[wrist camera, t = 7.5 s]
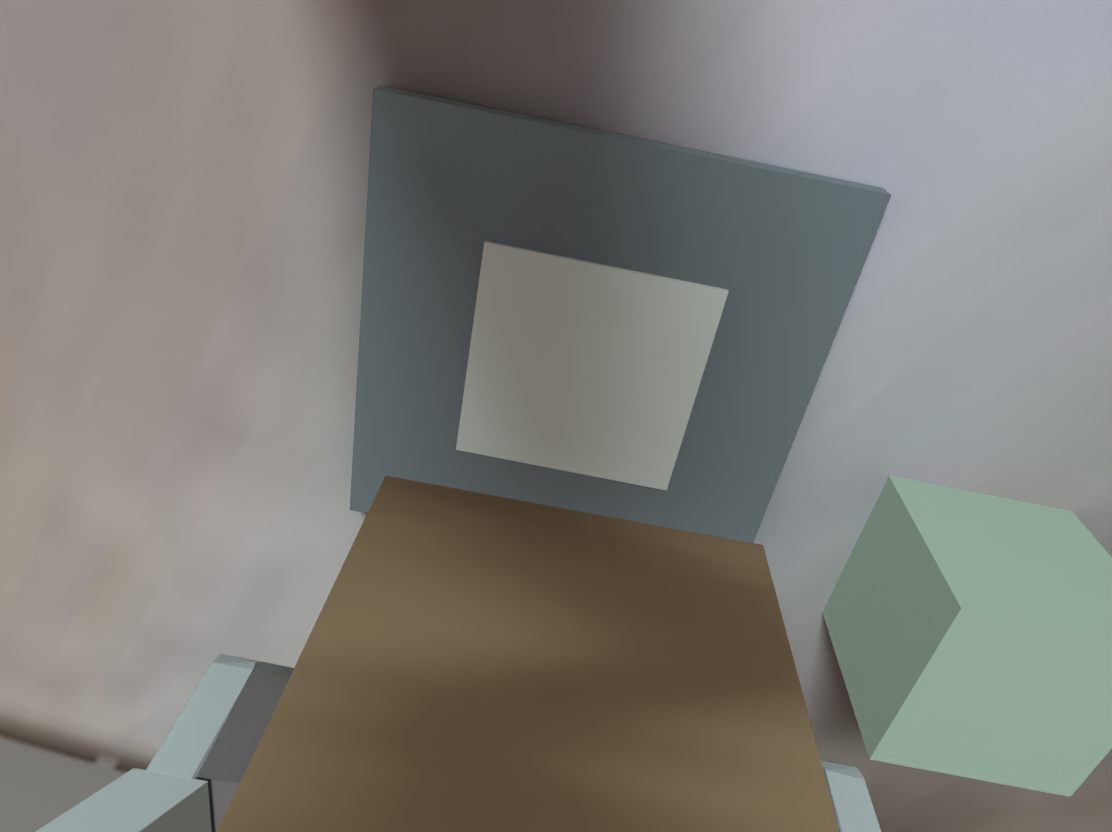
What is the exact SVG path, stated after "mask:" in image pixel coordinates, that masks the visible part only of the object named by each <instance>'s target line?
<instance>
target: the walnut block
mask: <svg viewBox="0 0 1112 832" xmlns="http://www.w3.org/2000/svg"><path fill="white" fill-rule="evenodd" d="M217 832H839V828H838V824H837V820H836V817H835V813H834V809H833V805H832V802H831V798H830V794H829V791H828V787H827V783H826V779H825V776H824V772H823V768H822V764H821V761H820V757H819V753H818V749H817V746H816V742H815V738H814V734H813V731H812V727H811V723H810V720H809V716H808V712H807V708H806V705H805V701H804V697H803V693H802V690H801V686H800V682H799V678H798V675H797V671H796V667H795V663H794V660H793V656H792V652H791V648H790V645H789V641H788V637H787V634H786V630H785V626H784V622H783V619H782V615H781V611H780V607H779V604H778V600H777V596H776V592H775V589H774V585H773V581H772V577H771V574H770V570H769V566H768V562H767V559H766V555H765V551H764V548H763V545H759V544H753V543H748V542H742V541H737V540H732V539H726V538H721V537H715V536H710V535H705V534H699V533H694V532H688V531H683V530H678V529H672V528H667V527H661V526H656V525H651V524H645V523H640V522H634V521H629V520H623V519H618V518H613V517H607V516H602V515H596V514H591V513H586V512H580V511H575V510H569V509H564V508H559V507H553V506H548V505H542V504H537V503H532V502H526V501H521V500H515V499H510V498H505V497H499V496H494V495H488V494H483V493H478V492H472V491H467V490H461V489H456V488H450V487H445V486H440V485H434V484H429V483H423V482H418V481H413V480H407V479H402V478H396V477H391V476H386V475H385V478H384V480H383V482H382V484H381V486H380V488H379V490H378V492H377V494H376V497H375V499H374V501H373V503H372V505H371V507H370V509H369V511H368V513H367V516H366V518H365V520H364V522H363V524H362V526H361V528H360V530H359V533H358V535H357V537H356V539H355V541H354V543H353V545H352V547H351V549H350V552H349V554H348V556H347V558H346V560H345V562H344V564H343V566H342V568H341V571H340V573H339V575H338V577H337V579H336V581H335V583H334V585H333V587H332V590H331V592H330V594H329V596H328V598H327V600H326V602H325V604H324V606H323V609H322V611H321V613H320V615H319V617H318V619H317V621H316V623H315V626H314V628H313V630H312V632H311V634H310V636H309V638H308V640H307V642H306V645H305V647H304V649H303V651H302V653H301V655H300V657H299V659H298V661H297V664H296V666H295V668H294V670H293V672H292V674H291V676H290V678H289V680H288V683H287V685H286V687H285V689H284V691H283V693H282V695H281V697H280V699H279V702H278V704H277V706H276V708H275V710H274V712H273V714H272V716H271V719H270V721H269V723H268V725H267V727H266V729H265V731H264V733H263V735H262V738H261V740H260V742H259V744H258V746H257V748H256V750H255V752H254V754H253V757H252V759H251V761H250V763H249V765H248V767H247V769H246V771H245V773H244V776H243V778H242V780H241V782H240V784H239V786H238V788H237V790H236V792H235V795H234V797H233V799H232V801H231V803H230V805H229V807H228V809H227V812H226V814H225V816H224V818H223V820H222V822H221V824H220V826H219V828H218V831H217Z"/></svg>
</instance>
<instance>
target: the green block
mask: <svg viewBox="0 0 1112 832" xmlns="http://www.w3.org/2000/svg"><path fill="white" fill-rule="evenodd" d="M823 616H824V619H825V623H826V626H827V629H828V632H829V635H830V638H831V641H832V644H833V647H834V651H835V654H836V657H837V660H838V663H839V666H840V669H841V672H842V676H843V679H844V682H845V685H846V688H847V691H848V694H849V697H850V700H851V704H852V707H853V710H854V713H855V716H856V719H857V722H858V725H859V728H860V732H861V735H862V738H863V741H864V744H865V747H866V750H867V753H868V757H869V759H870V760H875V761H881V762H886V763H891V764H897V765H902V766H908V767H913V768H918V769H924V770H929V771H934V772H940V773H945V774H951V775H956V776H961V777H967V778H972V779H978V780H983V781H988V782H994V783H999V784H1005V785H1010V786H1015V787H1021V788H1026V789H1032V790H1037V791H1042V792H1048V793H1053V794H1058V795H1064V796H1069V797H1071V796H1072V794H1073V793H1074V792H1075V791H1076V790H1077V789H1078V787H1079V786H1080V785H1081V784H1082V783H1083V782H1084V780H1085V779H1086V778H1087V777H1088V776H1089V774H1090V773H1091V772H1092V771H1093V770H1094V769H1095V767H1096V766H1097V765H1098V764H1099V763H1100V761H1101V760H1102V759H1103V758H1104V757H1105V756H1106V754H1107V753H1108V752H1109V751H1110V750H1111V749H1112V557H1111V556H1110V555H1109V554H1108V553H1107V552H1106V550H1105V549H1104V548H1103V547H1102V546H1101V545H1100V543H1099V542H1098V541H1097V540H1096V539H1095V538H1094V536H1093V535H1092V534H1091V533H1090V532H1089V531H1088V529H1087V528H1086V527H1085V526H1084V525H1083V524H1082V522H1081V521H1080V520H1079V519H1078V518H1077V517H1076V515H1075V514H1074V513H1073V512H1072V511H1067V510H1062V509H1057V508H1052V507H1047V506H1042V505H1036V504H1031V503H1026V502H1021V501H1016V500H1011V499H1006V498H1001V497H995V496H990V495H985V494H980V493H975V492H970V491H965V490H960V489H954V488H949V487H944V486H939V485H934V484H929V483H924V482H919V481H913V480H908V479H903V478H898V477H893V476H889V477H888V479H887V481H886V483H885V485H884V487H883V489H882V491H881V493H880V495H879V497H878V499H877V501H876V503H875V506H874V508H873V510H872V512H871V514H870V516H869V518H868V520H867V522H866V524H865V526H864V528H863V530H862V532H861V534H860V536H859V538H858V541H857V543H856V545H855V547H854V549H853V551H852V553H851V555H850V557H849V559H848V561H847V563H846V565H845V567H844V569H843V571H842V574H841V576H840V578H839V580H838V582H837V584H836V586H835V588H834V590H833V592H832V594H831V596H830V598H829V600H828V602H827V604H826V606H825V609H824V611H823Z"/></svg>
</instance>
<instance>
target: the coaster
mask: <svg viewBox="0 0 1112 832" xmlns="http://www.w3.org/2000/svg"><path fill="white" fill-rule="evenodd" d="M890 197H891V194H890V193H888V192H887V191H886V190H884V189H883V188H879V187H875V186H870V185H865V184H860V183H855V182H850V181H845V180H840V179H835V178H831V177H826V176H821V175H816V174H811V173H806V172H801V171H796V170H792V169H787V168H782V167H777V166H772V165H767V164H762V163H757V162H753V161H748V160H743V159H738V158H733V157H728V156H723V155H718V154H713V153H709V152H704V151H699V150H694V149H689V148H684V147H679V146H674V145H670V144H665V143H660V142H655V141H650V140H645V139H640V138H635V137H631V136H626V135H621V134H616V133H611V132H606V131H601V130H596V129H592V128H587V127H582V126H577V125H572V124H567V123H562V122H557V121H552V120H548V119H543V118H538V117H533V116H528V115H523V114H518V113H513V112H509V111H504V110H499V109H494V108H489V107H484V106H479V105H474V104H470V103H465V102H460V101H455V100H450V99H445V98H440V97H435V96H431V95H426V94H421V93H416V92H411V91H406V90H401V89H396V88H391V87H387V86H382V85H381V86H379V87H377V88H374V90H373V108H372V126H371V143H370V161H369V179H368V197H367V214H366V232H365V250H364V268H363V285H362V303H361V321H360V339H359V356H358V374H357V392H356V410H355V427H354V445H353V463H352V481H351V498H350V510H354V511H359V512H364V513H368V511H369V509H370V507H371V505H372V503H373V501H374V499H375V497H376V494H377V492H378V490H379V488H380V486H381V484H382V482H383V480H384V478H385V475H386V476H391V477H396V478H402V479H407V480H413V481H418V482H423V483H429V484H434V485H440V486H445V487H450V488H456V489H461V490H467V491H472V492H478V493H483V494H488V495H494V496H499V497H505V498H510V499H515V500H521V501H526V502H532V503H537V504H542V505H548V506H553V507H559V508H564V509H569V510H575V511H580V512H586V513H591V514H596V515H602V516H607V517H613V518H618V519H623V520H629V521H634V522H640V523H645V524H651V525H656V526H661V527H667V528H672V529H678V530H683V531H688V532H694V533H699V534H705V535H710V536H715V537H721V538H726V539H732V540H737V541H742V542H748V543H753V541H754V538H755V536H756V533H757V531H758V528H759V526H760V523H761V521H762V518H763V516H764V513H765V511H766V508H767V505H768V503H769V500H770V498H771V495H772V493H773V490H774V488H775V485H776V483H777V480H778V478H779V475H780V473H781V470H782V468H783V465H784V463H785V460H786V458H787V455H788V453H789V450H790V448H791V445H792V443H793V440H794V438H795V435H796V433H797V430H798V428H799V425H800V423H801V420H802V418H803V415H804V413H805V410H806V408H807V405H808V403H809V400H810V398H811V395H812V393H813V390H814V388H815V385H816V382H817V380H818V377H819V375H820V372H821V370H822V367H823V365H824V362H825V360H826V357H827V355H828V352H829V350H830V347H831V345H832V342H833V340H834V337H835V335H836V332H837V330H838V327H839V325H840V322H841V320H842V317H843V315H844V312H845V310H846V307H847V305H848V302H849V300H850V297H851V295H852V292H853V290H854V287H855V285H856V282H857V280H858V277H859V275H860V272H861V270H862V267H863V264H864V262H865V259H866V257H867V254H868V252H869V249H870V247H871V244H872V242H873V239H874V237H875V234H876V232H877V229H878V227H879V224H880V222H881V219H882V217H883V214H884V212H885V209H886V207H887V204H888V202H889V199H890Z"/></svg>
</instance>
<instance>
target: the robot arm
mask: <svg viewBox="0 0 1112 832" xmlns="http://www.w3.org/2000/svg"><path fill="white" fill-rule="evenodd" d="M293 670H294V668H291V667H286V666H281V665H276V664H271V663H266V662H261V661H256V660H250V659H245V658H240V657H234V656H229V655H224V654H220V655H219V656H218V657H217V658H216V659H215V660H214V661H213V662H212V663H211V664H210V665H209V667H208V668H207V670H206V672H205V673H204V675H203V677H202V678H201V680H200V682H199V683H198V685H197V687H196V688H195V690H194V692H193V693H192V695H191V696H190V698H189V700H188V701H187V703H186V705H185V706H184V708H183V710H182V711H181V713H180V715H179V716H178V718H177V720H176V721H175V723H174V725H173V726H172V728H171V730H170V731H169V733H168V735H167V736H166V738H165V740H164V741H163V743H162V745H161V746H160V748H159V749H158V751H157V753H156V754H155V756H154V758H153V759H152V761H151V763H150V764H149V766H148V768H147V769H146V770H144V769H136V768H133V769H131V770H130V771H128V772H127V773H125V774H124V775H122V776H120V777H119V778H117V779H116V780H114V781H113V782H111V783H110V784H108V785H107V786H105V787H104V788H102V789H100V790H99V791H97V792H96V793H94V794H93V795H91V796H90V797H88V798H87V799H85V800H84V801H82V802H80V803H79V804H77V805H76V806H74V807H73V808H71V809H70V810H68V811H66V812H65V813H63V814H62V815H61V816H59V817H57V818H56V819H54V820H53V821H51V822H49V823H48V824H46V825H45V826H43V827H42V828H40V829H39V830H37V831H36V832H217V831H218V828H219V826H220V824H221V822H222V820H223V818H224V816H225V814H226V812H227V809H228V807H229V805H230V803H231V801H232V799H233V797H234V795H235V792H236V790H237V788H238V786H239V784H240V782H241V780H242V778H243V776H244V773H245V771H246V769H247V767H248V765H249V763H250V761H251V759H252V757H253V754H254V752H255V750H256V748H257V746H258V744H259V742H260V740H261V738H262V735H263V733H264V731H265V729H266V727H267V725H268V723H269V721H270V719H271V716H272V714H273V712H274V710H275V708H276V706H277V704H278V702H279V699H280V697H281V695H282V693H283V691H284V689H285V687H286V685H287V683H288V680H289V678H290V676H291V674H292V672H293ZM821 764H822V768H823V772H824V776H825V779H826V783H827V787H828V791H829V794H830V798H831V802H832V805H833V809H834V813H835V817H836V820H837V824H838V828H839V832H881V829H880V826H879V823H878V819H877V816H876V813H875V810H874V807H873V804H872V801H871V798H870V795H869V792H868V789H867V786H866V783H865V779H864V776H863V775H862V773H861V772H860V771H859V770H858V768H857V767H852V766H847V765H841V764H836V763H830V762H824V761H821Z"/></svg>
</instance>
